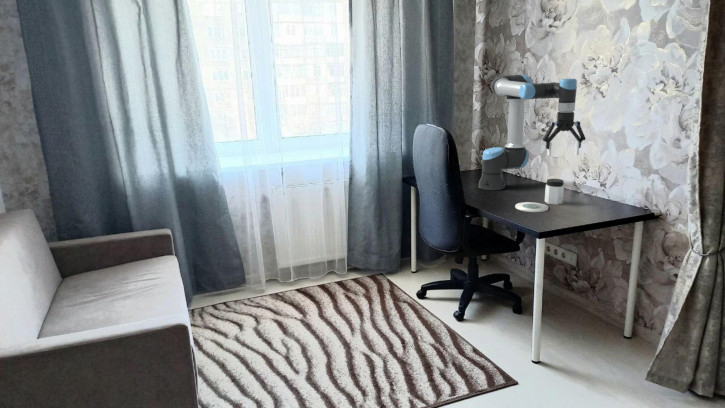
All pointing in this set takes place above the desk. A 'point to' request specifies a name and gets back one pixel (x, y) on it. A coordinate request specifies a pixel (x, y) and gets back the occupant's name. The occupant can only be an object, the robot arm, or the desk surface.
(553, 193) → the jar
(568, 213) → the desk surface
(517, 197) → the desk surface
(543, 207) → the plate
